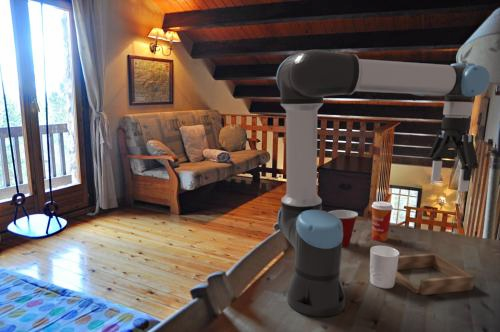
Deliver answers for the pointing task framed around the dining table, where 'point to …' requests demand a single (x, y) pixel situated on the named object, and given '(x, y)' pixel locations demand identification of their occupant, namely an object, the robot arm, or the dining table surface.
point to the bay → (452, 283)
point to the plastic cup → (346, 223)
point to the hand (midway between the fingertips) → (448, 185)
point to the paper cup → (381, 220)
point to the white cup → (383, 266)
